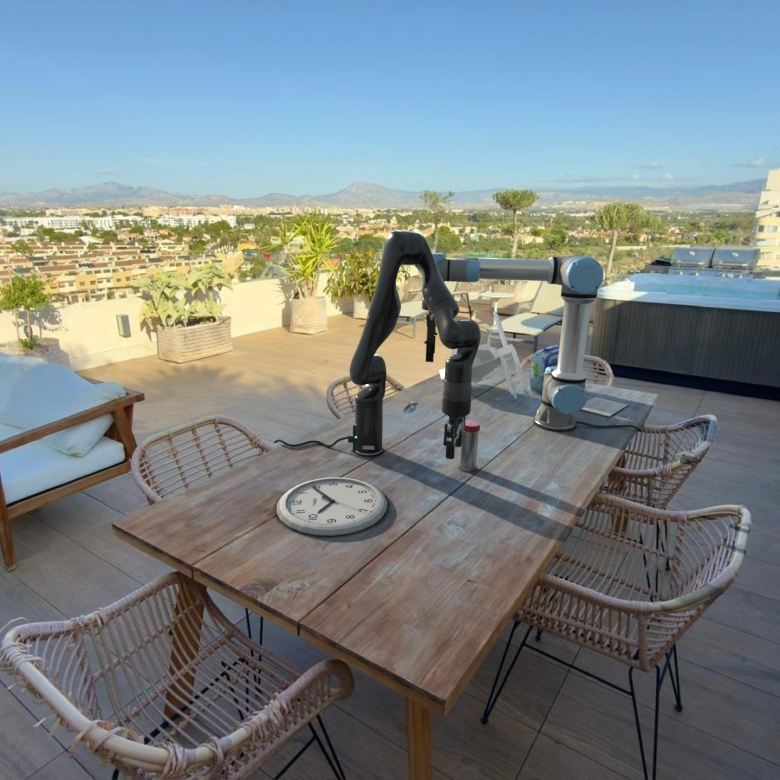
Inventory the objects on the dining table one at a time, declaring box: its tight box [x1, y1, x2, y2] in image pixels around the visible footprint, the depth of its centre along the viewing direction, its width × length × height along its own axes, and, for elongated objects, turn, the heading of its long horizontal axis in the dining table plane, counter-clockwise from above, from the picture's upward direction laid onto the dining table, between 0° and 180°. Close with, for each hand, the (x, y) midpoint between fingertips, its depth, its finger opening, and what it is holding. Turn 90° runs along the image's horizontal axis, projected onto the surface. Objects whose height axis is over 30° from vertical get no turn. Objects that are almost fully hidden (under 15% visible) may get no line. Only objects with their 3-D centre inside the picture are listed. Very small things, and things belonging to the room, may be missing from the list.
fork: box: [403, 395, 419, 411], centre depth 222 cm, size 3×16×2 cm, turn 160°
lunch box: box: [529, 345, 560, 394], centre depth 245 cm, size 26×11×21 cm, turn 134°
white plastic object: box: [438, 310, 531, 400], centre depth 245 cm, size 37×45×31 cm
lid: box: [464, 419, 481, 433], centre depth 162 cm, size 6×6×2 cm
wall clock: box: [276, 476, 388, 537], centre depth 142 cm, size 30×2×30 cm
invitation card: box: [580, 396, 629, 418], centre depth 226 cm, size 21×1×15 cm
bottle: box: [459, 431, 479, 473], centre depth 164 cm, size 5×5×15 cm
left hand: (453, 452), depth 142 cm, fingers open, 8 cm apart
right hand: (430, 357), depth 190 cm, fingers open, 13 cm apart
